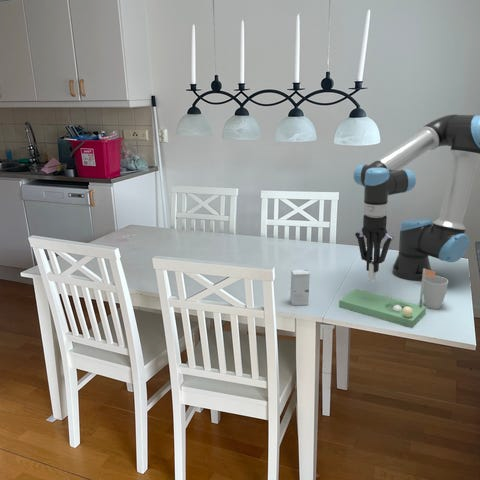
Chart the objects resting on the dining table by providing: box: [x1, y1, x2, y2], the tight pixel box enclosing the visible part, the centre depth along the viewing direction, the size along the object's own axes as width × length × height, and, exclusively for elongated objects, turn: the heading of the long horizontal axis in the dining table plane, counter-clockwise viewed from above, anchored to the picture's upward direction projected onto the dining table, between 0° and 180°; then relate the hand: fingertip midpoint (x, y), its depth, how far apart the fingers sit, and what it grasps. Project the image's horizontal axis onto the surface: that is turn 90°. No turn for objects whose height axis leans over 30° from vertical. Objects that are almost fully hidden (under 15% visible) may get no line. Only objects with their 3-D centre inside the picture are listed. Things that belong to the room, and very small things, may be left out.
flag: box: [418, 268, 436, 308], centre depth 162 cm, size 1×4×14 cm, turn 52°
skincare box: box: [289, 269, 311, 306], centre depth 174 cm, size 6×4×12 cm
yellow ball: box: [402, 306, 413, 317], centre depth 158 cm, size 3×3×3 cm
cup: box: [422, 275, 449, 310], centre depth 170 cm, size 8×8×10 cm
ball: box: [392, 305, 403, 311], centre depth 165 cm, size 3×3×3 cm
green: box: [338, 288, 427, 328], centre depth 169 cm, size 26×13×2 cm, turn 51°
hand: (371, 279), depth 169 cm, fingers closed
